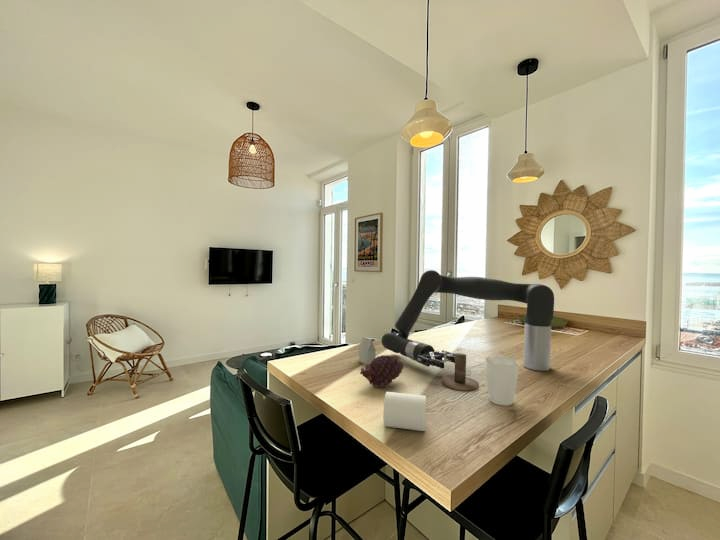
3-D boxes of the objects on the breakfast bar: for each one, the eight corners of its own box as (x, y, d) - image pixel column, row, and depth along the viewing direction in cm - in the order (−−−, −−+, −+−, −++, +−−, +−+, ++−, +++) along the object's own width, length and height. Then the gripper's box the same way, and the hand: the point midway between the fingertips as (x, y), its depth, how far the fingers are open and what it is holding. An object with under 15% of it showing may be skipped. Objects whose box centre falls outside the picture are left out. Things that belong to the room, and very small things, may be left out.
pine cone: (393, 375, 113) (394, 347, 112) (413, 384, 105) (414, 354, 104) (353, 386, 102) (354, 355, 102) (372, 396, 94) (373, 364, 94)
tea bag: (367, 366, 122) (367, 340, 122) (358, 361, 128) (359, 336, 128) (375, 364, 124) (375, 339, 124) (366, 359, 130) (367, 336, 130)
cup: (479, 394, 98) (481, 356, 98) (509, 395, 97) (510, 356, 97) (491, 407, 89) (492, 365, 88) (523, 408, 88) (524, 366, 88)
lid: (458, 375, 114) (459, 348, 114) (486, 387, 104) (487, 357, 104) (434, 380, 108) (434, 352, 108) (461, 393, 98) (462, 361, 97)
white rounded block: (425, 438, 73) (426, 404, 72) (382, 432, 75) (383, 399, 74) (425, 413, 84) (425, 384, 84) (388, 409, 86) (389, 381, 86)
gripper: (405, 344, 118) (438, 355, 105) (432, 340, 126) (465, 350, 112) (405, 364, 118) (437, 378, 105) (432, 358, 126) (465, 370, 113)
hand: (452, 363), depth 109 cm, fingers open, 8 cm apart
